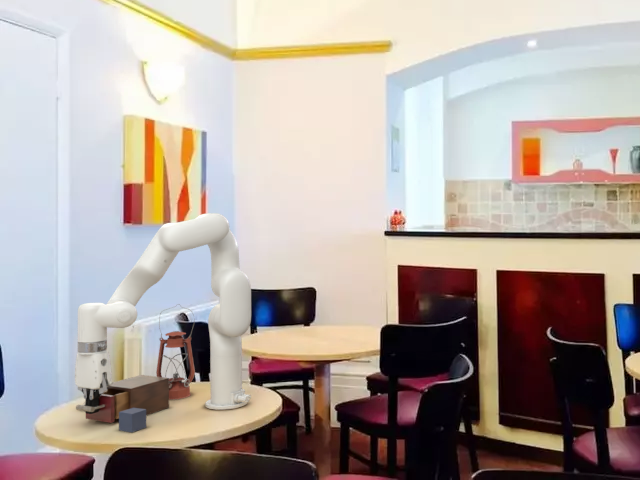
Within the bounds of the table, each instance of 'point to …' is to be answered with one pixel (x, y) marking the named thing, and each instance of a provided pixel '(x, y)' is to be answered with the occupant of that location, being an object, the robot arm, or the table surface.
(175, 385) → the lantern
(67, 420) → the table surface
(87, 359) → the robot arm
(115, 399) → the drawer
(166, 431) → the table surface
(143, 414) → the block
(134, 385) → the cabinet
